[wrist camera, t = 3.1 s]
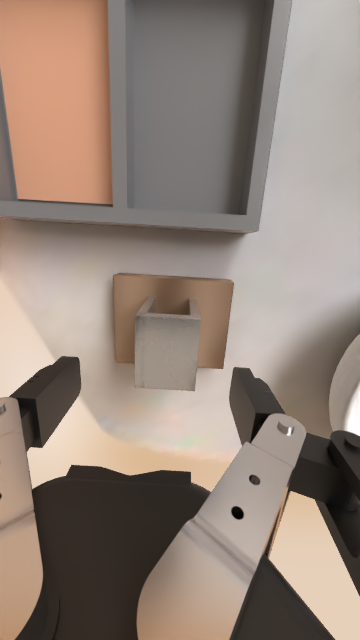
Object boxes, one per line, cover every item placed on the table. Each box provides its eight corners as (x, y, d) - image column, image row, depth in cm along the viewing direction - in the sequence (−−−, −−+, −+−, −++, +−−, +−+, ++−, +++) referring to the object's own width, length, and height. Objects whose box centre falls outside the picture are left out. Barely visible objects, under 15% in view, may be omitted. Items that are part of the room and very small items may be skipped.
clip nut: (196, 298, 20) (200, 319, 14) (192, 352, 22) (194, 390, 16) (149, 295, 20) (134, 315, 14) (148, 349, 22) (134, 387, 16)
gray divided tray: (281, -28, 15) (306, -97, 12) (246, 233, 20) (258, 231, 17) (-24, -45, 15) (-78, -120, 12) (13, 219, 20) (-18, 214, 17)
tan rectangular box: (229, 279, 21) (233, 282, 20) (220, 359, 24) (223, 368, 22) (119, 272, 21) (113, 275, 20) (121, 353, 24) (115, 362, 22)
